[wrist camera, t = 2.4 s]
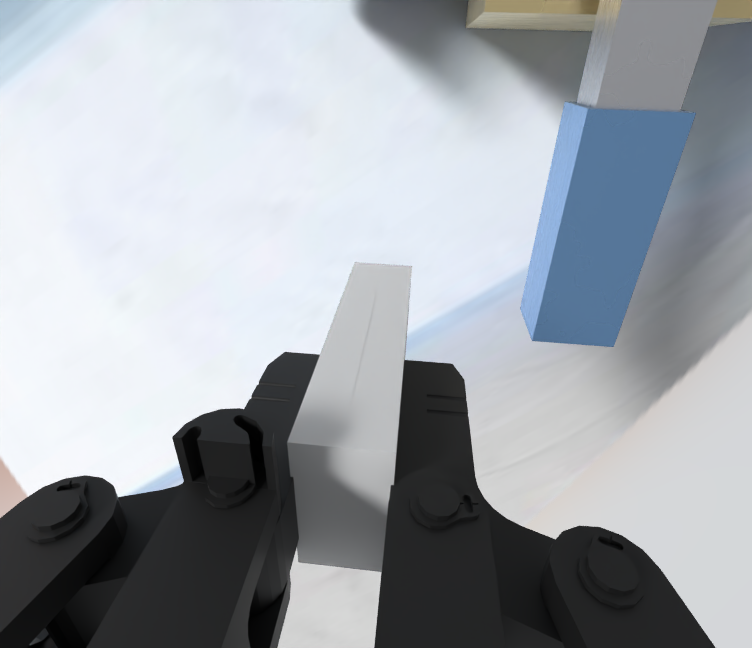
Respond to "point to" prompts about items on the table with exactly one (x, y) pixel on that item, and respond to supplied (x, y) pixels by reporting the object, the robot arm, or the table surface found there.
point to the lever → (613, 168)
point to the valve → (571, 14)
